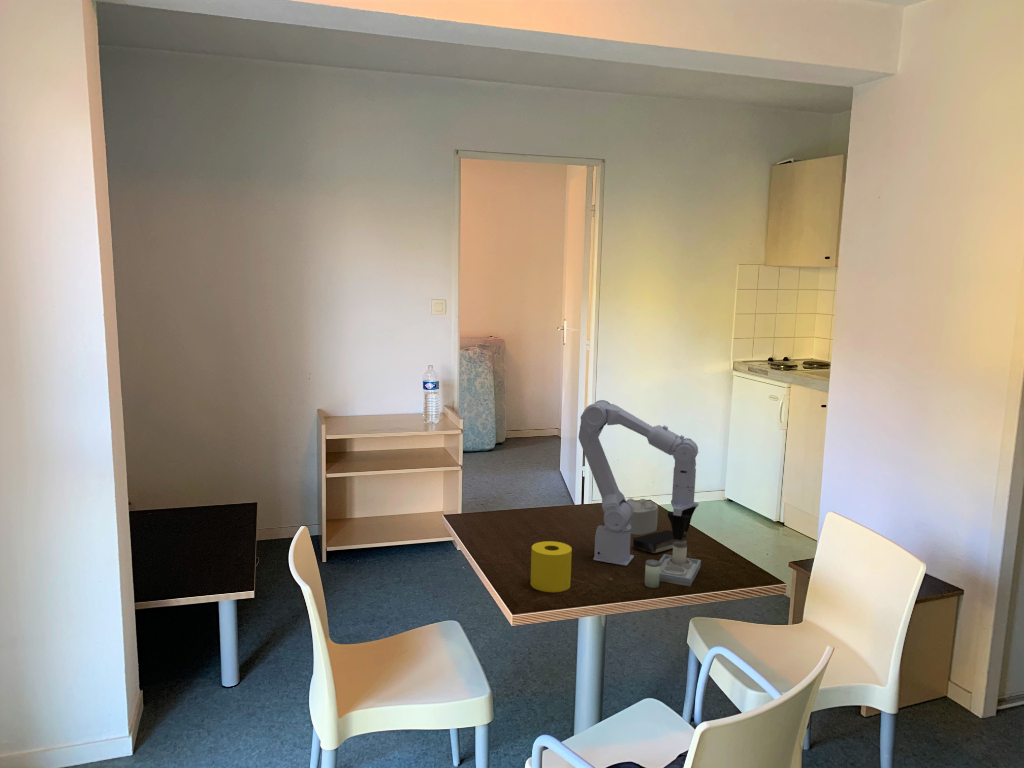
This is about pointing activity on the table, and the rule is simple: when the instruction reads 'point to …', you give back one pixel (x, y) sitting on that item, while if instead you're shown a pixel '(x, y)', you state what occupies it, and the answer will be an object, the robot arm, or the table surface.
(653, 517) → the lumpy-topped squat cylinder
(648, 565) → the pale green lidded jar
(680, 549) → the jaw peg ivory
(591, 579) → the table surface
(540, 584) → the yellow cylinder with hole
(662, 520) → the table surface
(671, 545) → the black sponge
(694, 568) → the tray
